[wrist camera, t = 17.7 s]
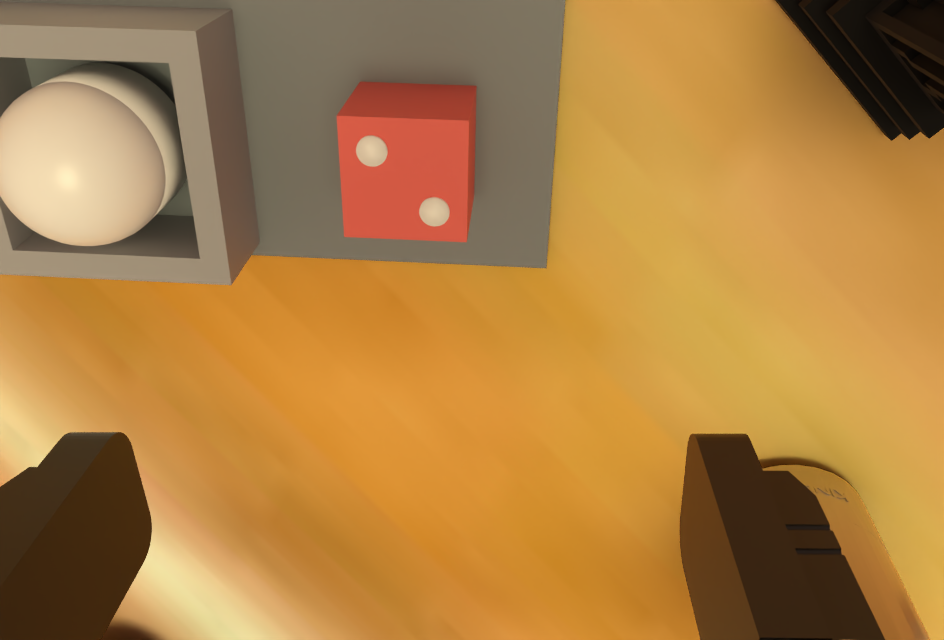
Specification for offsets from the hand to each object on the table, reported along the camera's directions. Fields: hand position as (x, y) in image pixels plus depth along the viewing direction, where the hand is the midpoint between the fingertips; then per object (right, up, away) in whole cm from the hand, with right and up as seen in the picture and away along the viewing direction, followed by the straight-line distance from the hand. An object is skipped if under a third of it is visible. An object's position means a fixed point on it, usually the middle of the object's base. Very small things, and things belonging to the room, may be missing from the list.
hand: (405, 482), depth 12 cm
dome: (-14, +10, +25) cm, 30 cm away
